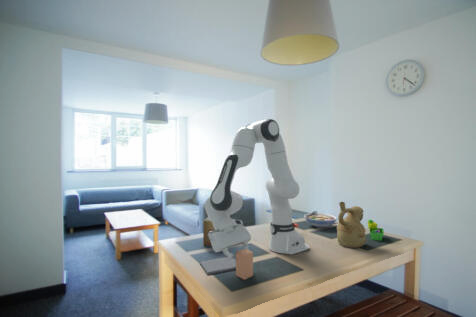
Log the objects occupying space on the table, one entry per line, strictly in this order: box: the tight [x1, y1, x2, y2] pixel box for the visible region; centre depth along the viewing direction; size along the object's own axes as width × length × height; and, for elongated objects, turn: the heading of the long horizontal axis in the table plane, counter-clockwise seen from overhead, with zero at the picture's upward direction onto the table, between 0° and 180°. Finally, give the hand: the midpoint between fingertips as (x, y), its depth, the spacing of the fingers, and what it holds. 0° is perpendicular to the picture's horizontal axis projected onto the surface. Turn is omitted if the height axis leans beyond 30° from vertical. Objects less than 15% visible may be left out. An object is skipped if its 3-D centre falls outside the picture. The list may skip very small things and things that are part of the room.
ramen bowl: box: [303, 210, 338, 229], centre depth 180 cm, size 25×23×8 cm
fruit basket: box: [366, 219, 385, 242], centre depth 154 cm, size 11×9×11 cm
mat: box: [199, 256, 236, 276], centre depth 114 cm, size 16×12×1 cm
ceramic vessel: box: [336, 201, 367, 249], centre depth 143 cm, size 17×20×25 cm
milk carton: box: [202, 216, 215, 247], centre depth 145 cm, size 11×11×19 cm
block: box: [235, 248, 254, 281], centre depth 104 cm, size 5×5×10 cm
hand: (239, 255), depth 106 cm, fingers open, 8 cm apart
